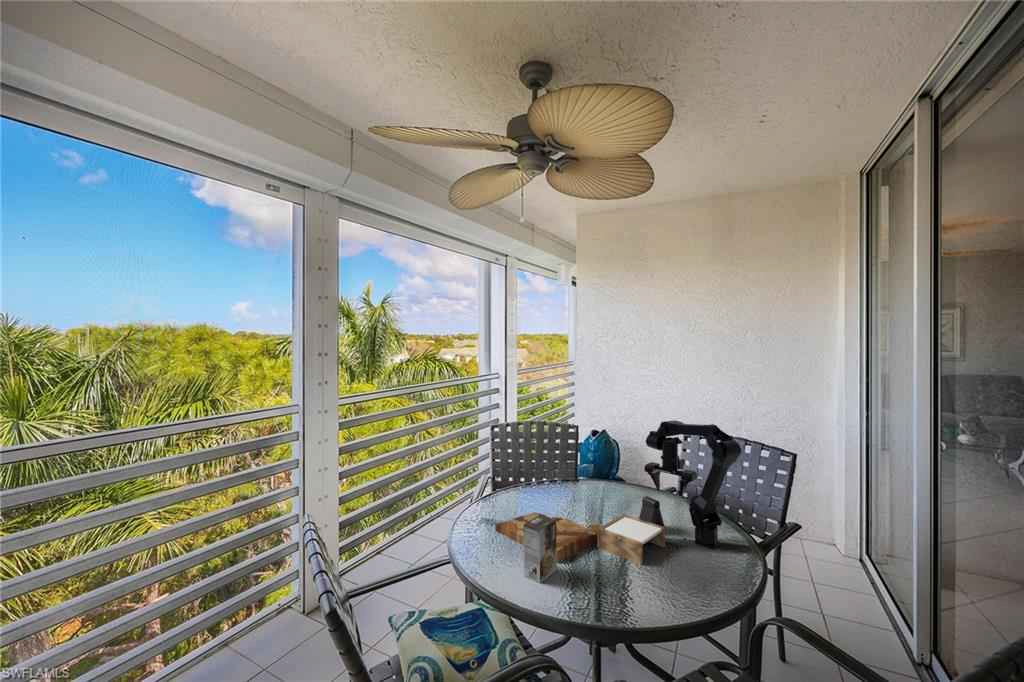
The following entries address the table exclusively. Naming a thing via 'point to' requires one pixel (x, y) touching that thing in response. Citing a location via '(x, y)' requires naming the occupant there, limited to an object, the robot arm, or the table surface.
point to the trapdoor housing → (626, 541)
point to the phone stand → (651, 511)
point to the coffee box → (540, 548)
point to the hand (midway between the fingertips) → (669, 493)
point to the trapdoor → (634, 530)
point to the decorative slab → (567, 534)
